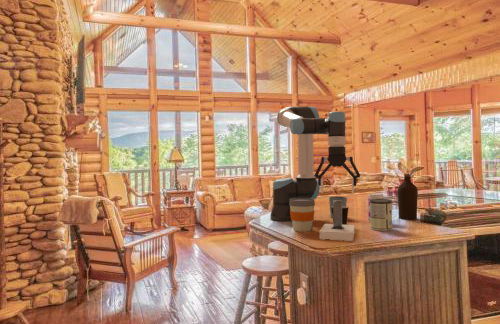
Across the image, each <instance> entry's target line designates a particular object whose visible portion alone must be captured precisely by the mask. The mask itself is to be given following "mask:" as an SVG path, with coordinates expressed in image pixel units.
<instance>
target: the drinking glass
mask: <svg viewBox="0 0 500 324" xmlns="http://www.w3.org/2000/svg"><path fill="white" fill-rule="evenodd" d="M328 200H329V212H330V213H329V215H330V218H331V219H333V217H332V209H331V207H332V206H333V200H342V206H347V202H348V201H347V200H348V197H347V196H329V197H328Z"/></svg>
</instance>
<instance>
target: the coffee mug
mask: <svg viewBox="0 0 500 324" xmlns="http://www.w3.org/2000/svg"><path fill="white" fill-rule="evenodd" d="M331 209H332V217H333V206H332V207H331ZM348 214H349V206H347V205H346V206H342V225H348V216H349V215H348Z"/></svg>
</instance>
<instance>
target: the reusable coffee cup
mask: <svg viewBox="0 0 500 324" xmlns="http://www.w3.org/2000/svg"><path fill="white" fill-rule="evenodd" d="M289 205H290V209H291V210H290V215H291V222H292V223H291V224H292V229H293V231H295V232H303V231H304V232H311V231H312V229H313V227H312V226H313V221H314V218H315V206H316V203H315V199H311V198H293V199H290V203H289Z"/></svg>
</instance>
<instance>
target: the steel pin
mask: <svg viewBox="0 0 500 324" xmlns="http://www.w3.org/2000/svg"><path fill="white" fill-rule="evenodd" d="M332 222H333V223H332V224H333V229H342V200H333V218H332Z"/></svg>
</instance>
